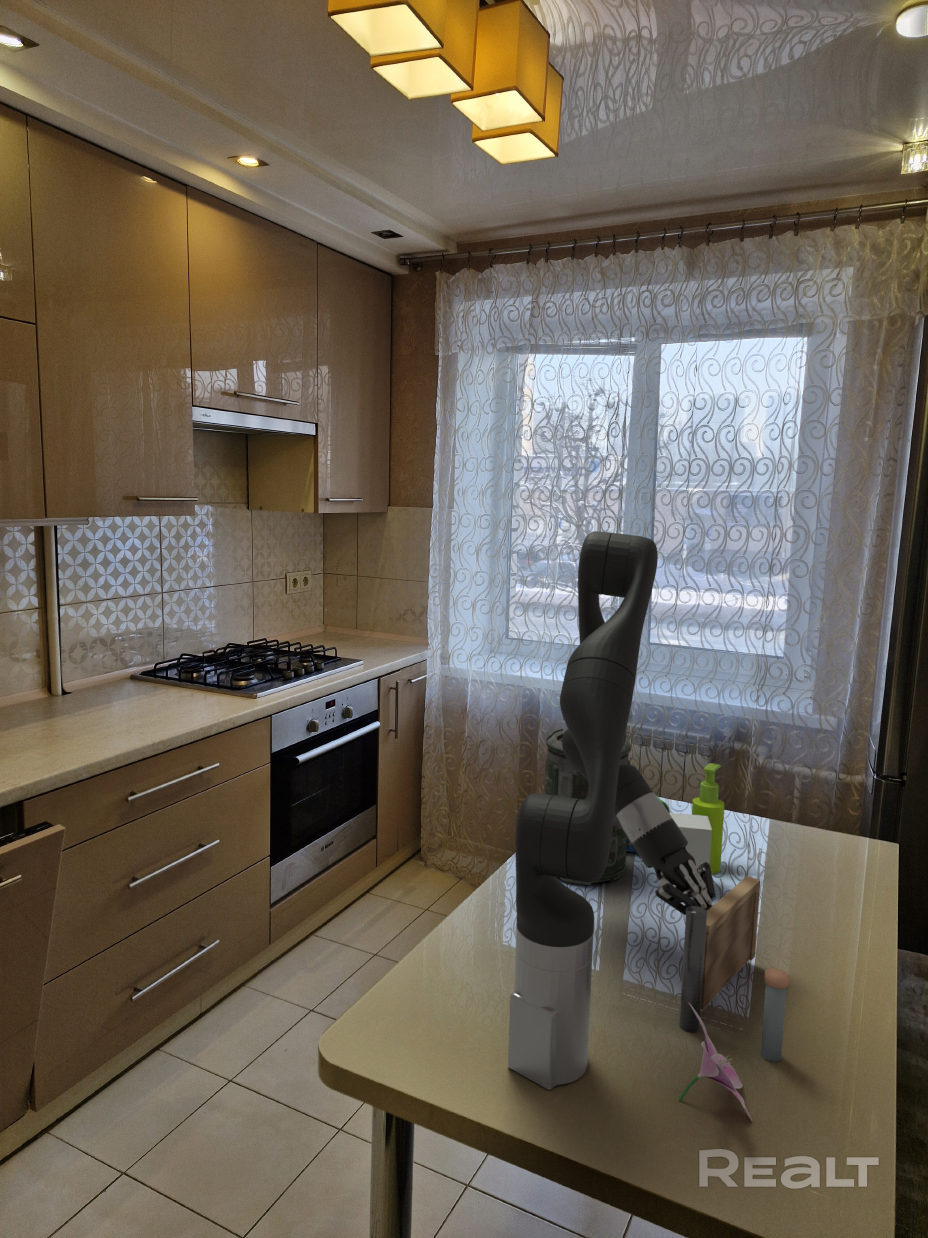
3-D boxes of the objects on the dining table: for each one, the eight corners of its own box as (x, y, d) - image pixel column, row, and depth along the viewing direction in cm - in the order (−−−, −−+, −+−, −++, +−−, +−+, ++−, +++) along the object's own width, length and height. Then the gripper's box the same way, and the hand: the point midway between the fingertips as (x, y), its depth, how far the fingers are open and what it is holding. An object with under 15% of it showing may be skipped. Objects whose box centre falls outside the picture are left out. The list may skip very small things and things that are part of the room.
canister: (550, 846, 163) (555, 711, 160) (629, 858, 159) (636, 719, 155) (532, 879, 148) (538, 731, 145) (619, 893, 144) (627, 740, 140)
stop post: (778, 1066, 99) (784, 983, 97) (755, 1056, 101) (761, 975, 99) (786, 1055, 101) (792, 974, 100) (763, 1045, 103) (769, 965, 101)
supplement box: (708, 899, 142) (712, 830, 141) (665, 894, 144) (669, 826, 142) (704, 880, 150) (708, 815, 148) (663, 876, 151) (667, 811, 149)
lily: (731, 1169, 84) (779, 1091, 84) (635, 1087, 90) (679, 1014, 89) (742, 1128, 95) (784, 1059, 95) (655, 1057, 100) (695, 991, 100)
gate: (704, 1012, 107) (709, 926, 106) (690, 1006, 108) (695, 921, 107) (754, 956, 121) (760, 880, 120) (741, 952, 122) (747, 876, 121)
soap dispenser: (725, 864, 157) (731, 764, 154) (715, 877, 151) (722, 773, 149) (695, 856, 160) (701, 759, 158) (684, 869, 154) (690, 767, 152)
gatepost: (694, 1035, 104) (702, 918, 102) (675, 1026, 106) (682, 911, 104) (702, 1025, 106) (710, 910, 104) (684, 1017, 108) (691, 904, 106)
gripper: (642, 828, 119) (714, 939, 112) (689, 807, 128) (758, 908, 121) (611, 852, 123) (678, 960, 116) (658, 830, 132) (722, 928, 125)
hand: (718, 933), depth 119 cm, fingers closed
